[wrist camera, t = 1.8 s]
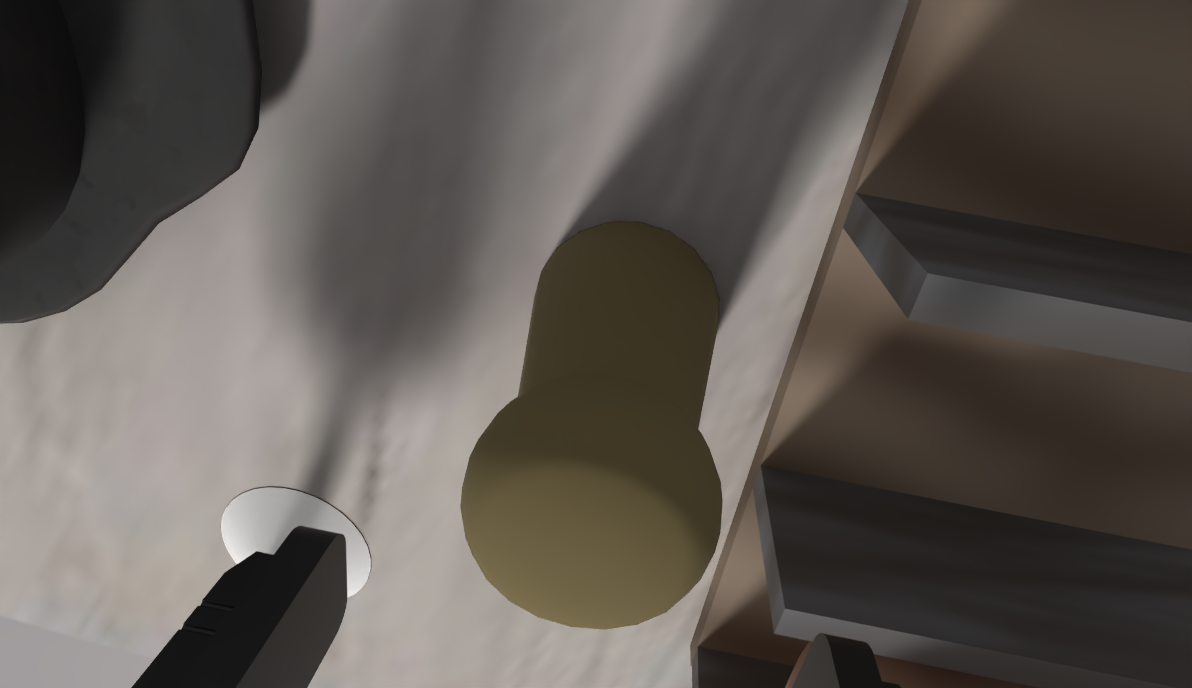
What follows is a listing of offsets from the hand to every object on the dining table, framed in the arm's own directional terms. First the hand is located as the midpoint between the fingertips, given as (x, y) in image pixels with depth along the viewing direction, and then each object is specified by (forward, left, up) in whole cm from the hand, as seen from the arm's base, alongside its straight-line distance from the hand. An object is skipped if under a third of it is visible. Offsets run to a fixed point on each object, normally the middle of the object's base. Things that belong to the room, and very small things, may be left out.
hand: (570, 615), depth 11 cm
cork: (0, 0, -12) cm, 12 cm away
